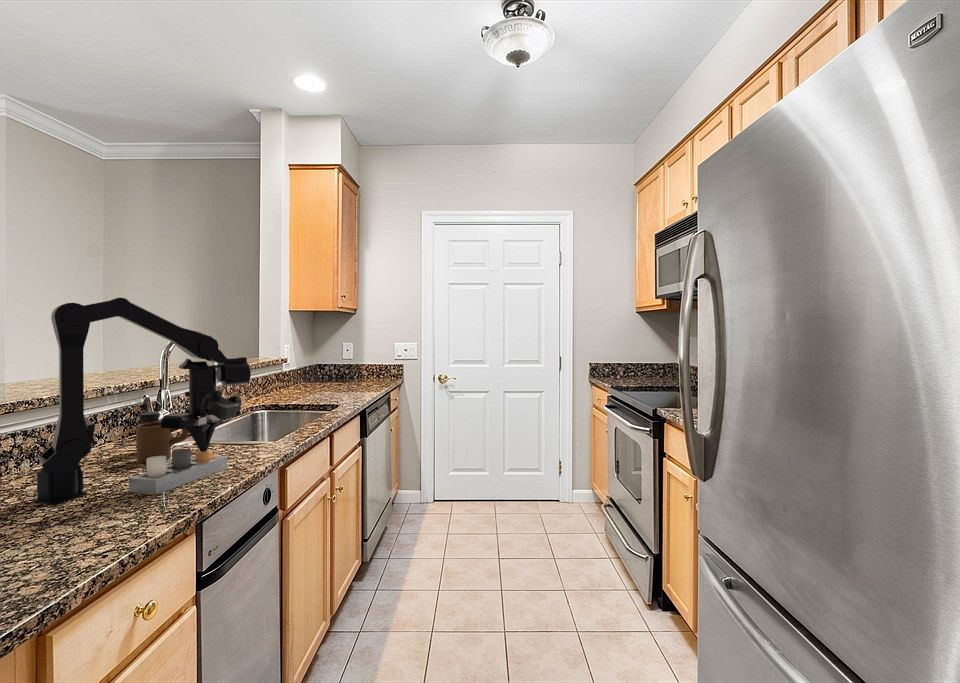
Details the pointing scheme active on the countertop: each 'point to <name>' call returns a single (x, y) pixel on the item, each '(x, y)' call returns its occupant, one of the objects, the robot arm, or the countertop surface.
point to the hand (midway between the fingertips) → (203, 451)
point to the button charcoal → (181, 459)
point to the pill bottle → (149, 417)
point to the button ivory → (156, 466)
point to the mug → (155, 440)
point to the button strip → (176, 476)
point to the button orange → (203, 456)
